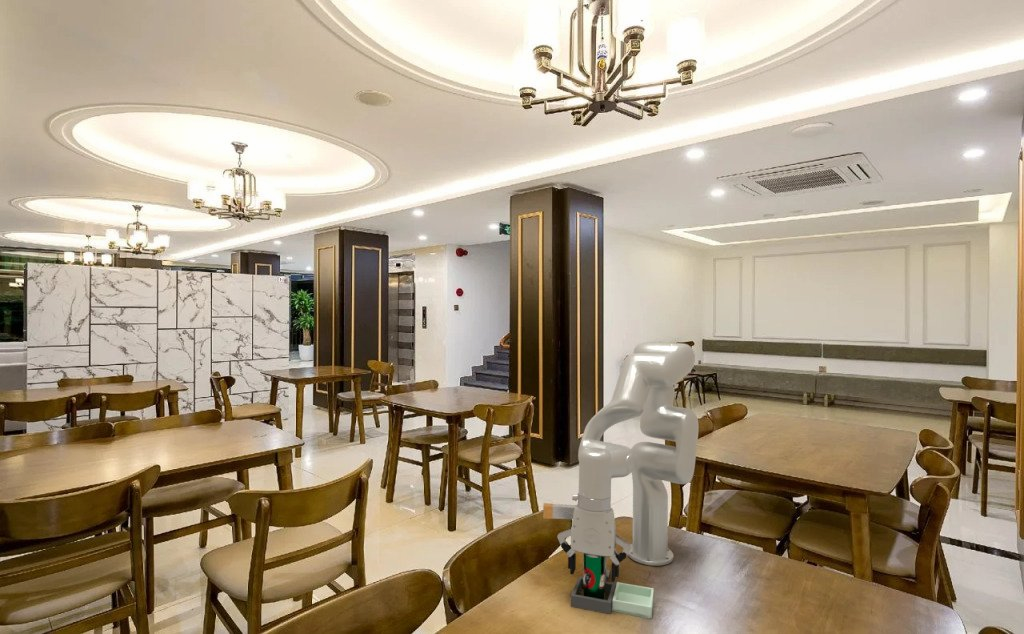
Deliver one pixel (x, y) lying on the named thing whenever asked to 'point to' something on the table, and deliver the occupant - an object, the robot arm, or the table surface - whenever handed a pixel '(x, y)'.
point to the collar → (591, 602)
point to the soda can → (594, 576)
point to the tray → (633, 600)
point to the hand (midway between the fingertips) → (593, 575)
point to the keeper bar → (558, 511)
